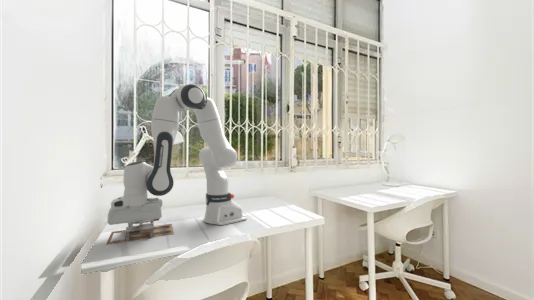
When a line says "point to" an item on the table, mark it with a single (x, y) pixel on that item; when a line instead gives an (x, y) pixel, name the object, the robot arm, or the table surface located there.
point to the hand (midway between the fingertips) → (136, 231)
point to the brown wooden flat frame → (154, 232)
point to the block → (145, 229)
